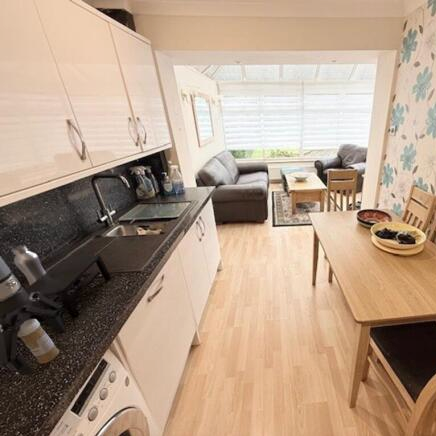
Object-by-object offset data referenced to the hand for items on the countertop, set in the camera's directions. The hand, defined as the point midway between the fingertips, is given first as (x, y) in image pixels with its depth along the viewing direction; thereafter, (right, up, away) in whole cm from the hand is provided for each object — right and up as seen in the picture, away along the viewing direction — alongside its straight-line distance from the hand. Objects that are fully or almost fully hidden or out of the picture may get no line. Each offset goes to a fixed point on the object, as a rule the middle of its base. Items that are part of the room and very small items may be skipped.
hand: (45, 351), depth 70 cm
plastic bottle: (-32, +9, +31) cm, 46 cm away
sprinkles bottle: (0, -2, +1) cm, 3 cm away
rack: (-12, +8, +24) cm, 28 cm away
